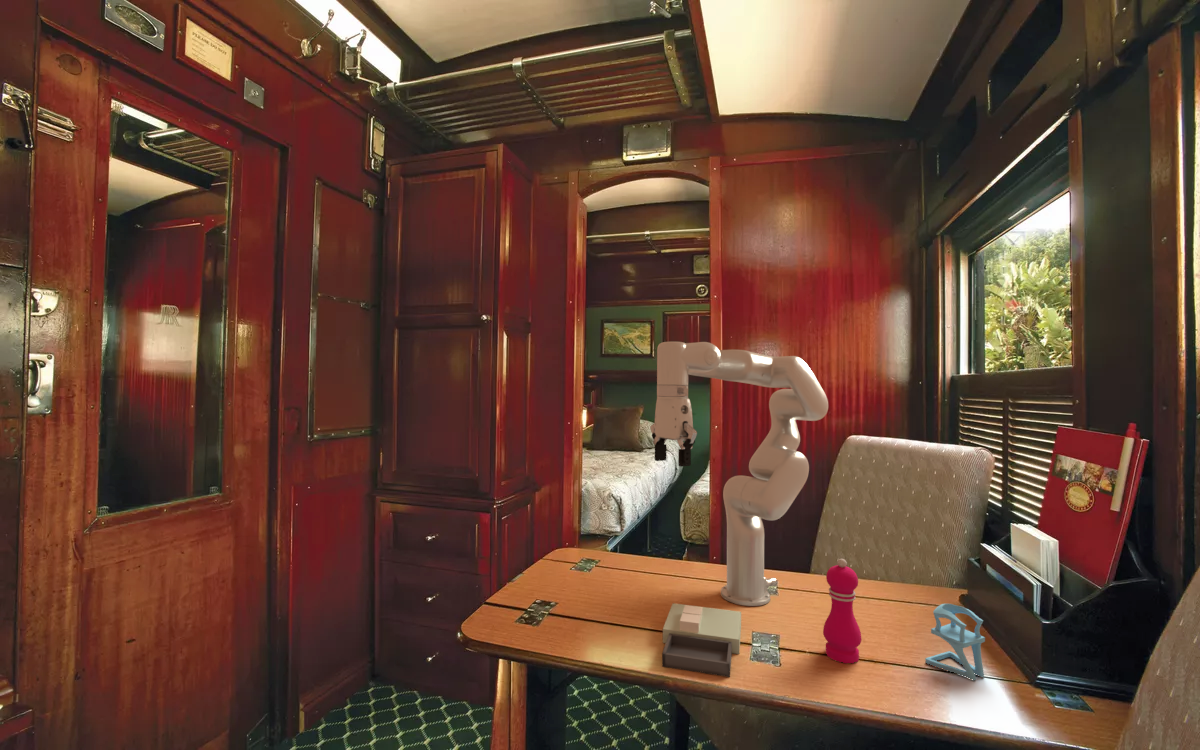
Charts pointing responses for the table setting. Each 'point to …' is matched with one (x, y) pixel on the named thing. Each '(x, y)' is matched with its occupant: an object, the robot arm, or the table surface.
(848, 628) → the pepper mill
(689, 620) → the tile front
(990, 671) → the table surface
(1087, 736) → the table surface
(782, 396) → the robot arm
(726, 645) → the box
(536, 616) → the table surface
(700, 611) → the tile rear
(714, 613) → the beige flat slab
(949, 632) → the phone stand
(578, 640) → the table surface
